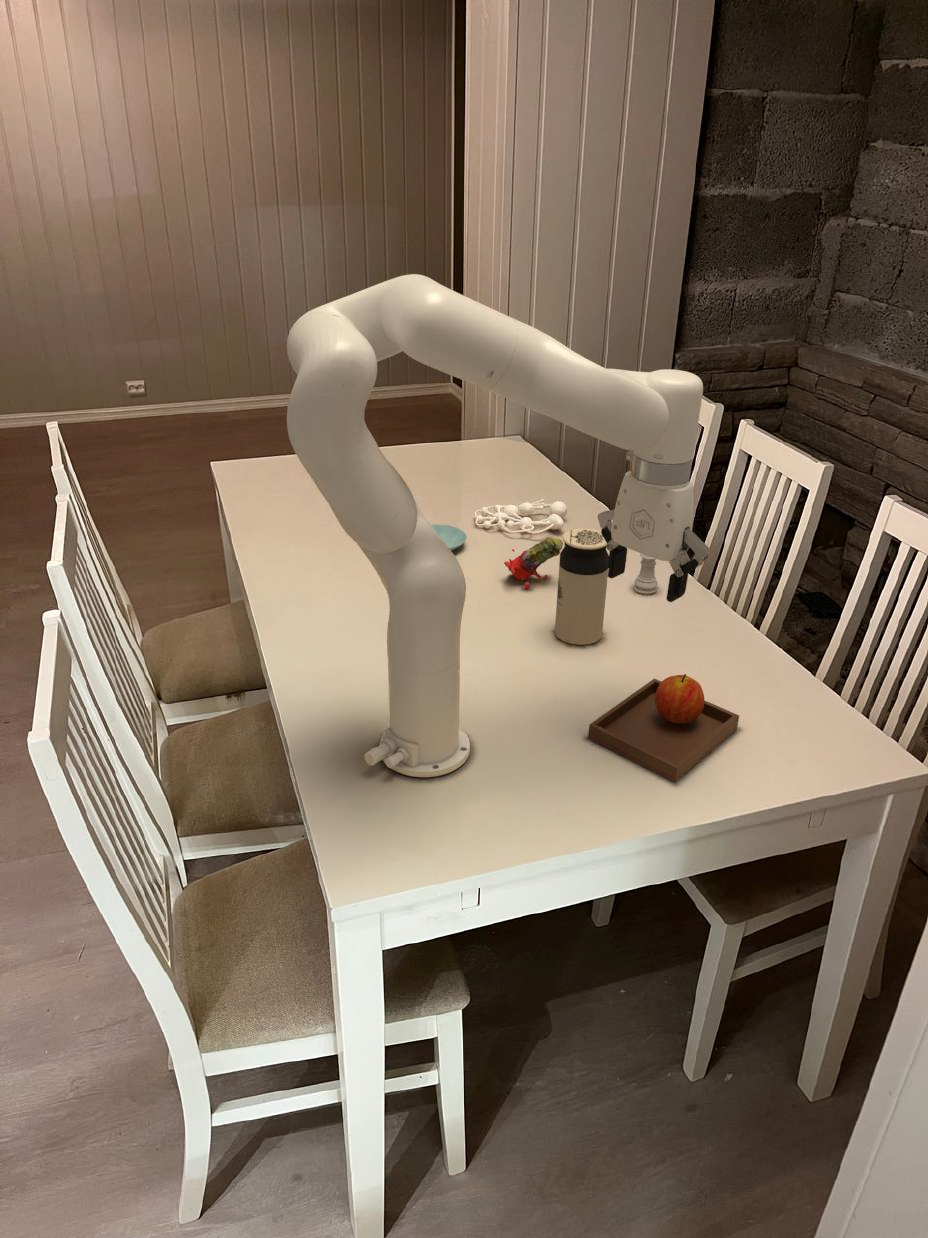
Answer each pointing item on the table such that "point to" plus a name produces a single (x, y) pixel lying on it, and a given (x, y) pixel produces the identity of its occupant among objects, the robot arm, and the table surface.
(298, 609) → the table surface
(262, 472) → the table surface
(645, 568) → the rook chess piece
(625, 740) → the tray
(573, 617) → the travel mug
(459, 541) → the saucer
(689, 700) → the fruit
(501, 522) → the tangled rod sculpture
